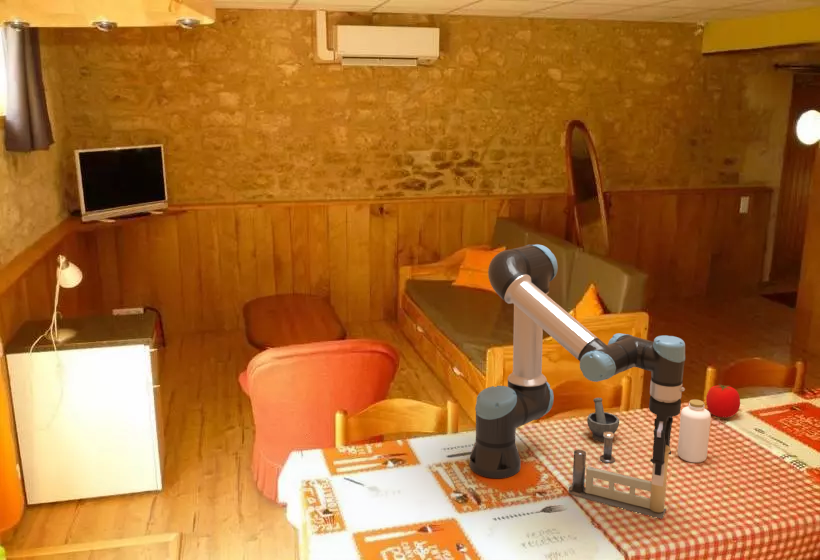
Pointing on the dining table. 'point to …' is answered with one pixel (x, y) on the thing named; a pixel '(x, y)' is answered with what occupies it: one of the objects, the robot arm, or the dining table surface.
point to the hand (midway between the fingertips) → (659, 480)
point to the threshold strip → (623, 505)
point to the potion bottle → (694, 432)
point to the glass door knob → (608, 448)
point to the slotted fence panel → (652, 503)
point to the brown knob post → (578, 474)
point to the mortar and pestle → (601, 421)
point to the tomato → (723, 401)
